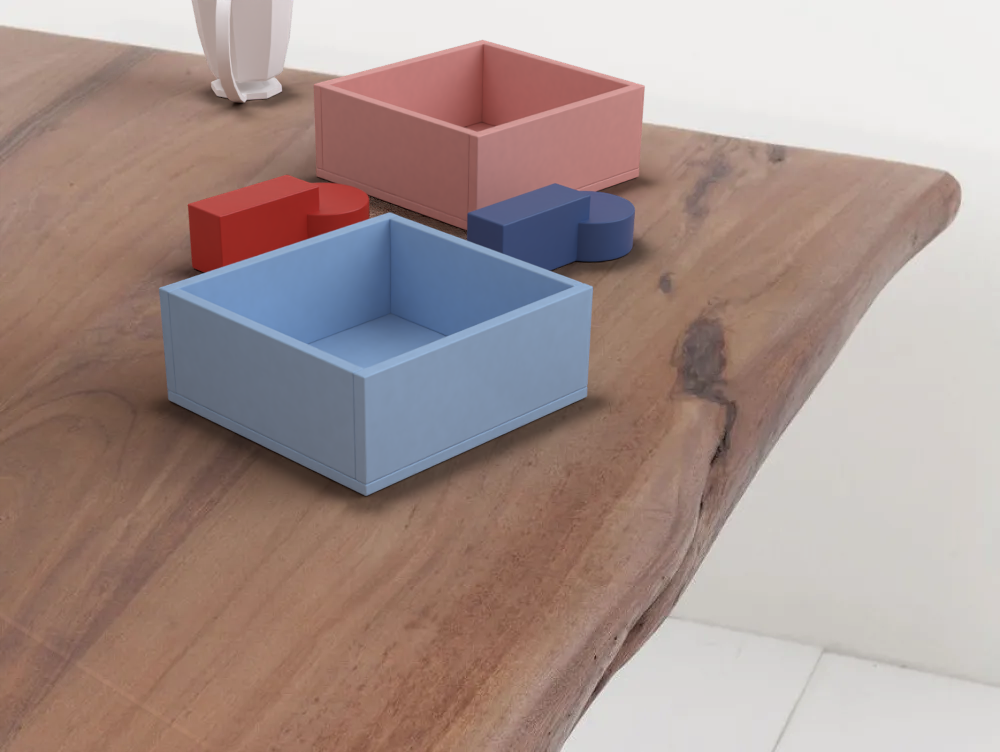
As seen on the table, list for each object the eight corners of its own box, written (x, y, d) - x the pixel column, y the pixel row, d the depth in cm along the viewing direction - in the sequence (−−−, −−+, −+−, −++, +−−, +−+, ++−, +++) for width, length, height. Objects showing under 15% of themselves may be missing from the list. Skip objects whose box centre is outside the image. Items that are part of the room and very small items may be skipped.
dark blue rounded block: (448, 270, 93) (448, 206, 91) (581, 221, 99) (584, 160, 97) (519, 296, 90) (521, 231, 89) (651, 245, 96) (656, 183, 95)
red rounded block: (176, 261, 93) (171, 197, 91) (325, 213, 99) (323, 152, 97) (239, 288, 90) (236, 222, 89) (389, 237, 96) (388, 175, 95)
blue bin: (167, 400, 80) (158, 287, 77) (390, 316, 88) (389, 211, 85) (365, 496, 73) (363, 377, 71) (587, 397, 81) (593, 286, 79)
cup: (311, 76, 119) (307, -60, 115) (285, 124, 111) (279, -20, 106) (201, 70, 120) (193, -65, 115) (168, 118, 111) (157, -26, 107)
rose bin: (315, 176, 104) (313, 83, 101) (480, 126, 112) (482, 39, 109) (475, 234, 97) (477, 136, 94) (639, 176, 105) (645, 85, 102)
